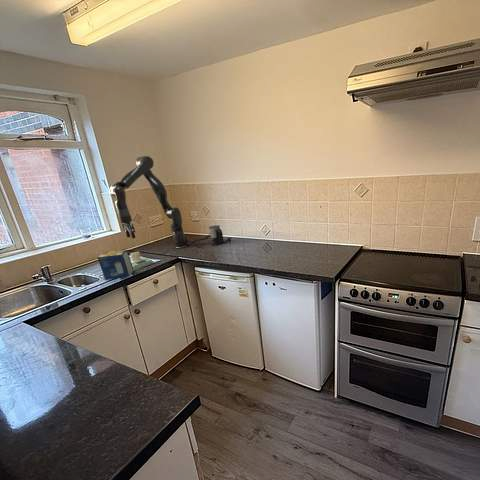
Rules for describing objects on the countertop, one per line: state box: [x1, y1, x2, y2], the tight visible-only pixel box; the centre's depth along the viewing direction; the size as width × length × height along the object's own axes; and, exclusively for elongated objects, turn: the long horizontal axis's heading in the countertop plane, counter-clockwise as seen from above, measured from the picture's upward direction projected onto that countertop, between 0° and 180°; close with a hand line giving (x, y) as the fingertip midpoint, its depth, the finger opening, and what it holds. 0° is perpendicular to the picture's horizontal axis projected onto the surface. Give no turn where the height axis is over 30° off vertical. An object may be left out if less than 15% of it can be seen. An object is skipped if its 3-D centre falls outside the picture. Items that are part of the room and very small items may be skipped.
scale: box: [130, 256, 153, 270], centre depth 218 cm, size 14×17×3 cm
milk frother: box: [208, 224, 233, 246], centre depth 248 cm, size 14×16×15 cm
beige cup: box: [129, 251, 142, 261], centre depth 218 cm, size 6×6×5 cm
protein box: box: [97, 249, 135, 280], centre depth 196 cm, size 10×15×16 cm
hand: (131, 237), depth 215 cm, fingers open, 8 cm apart
